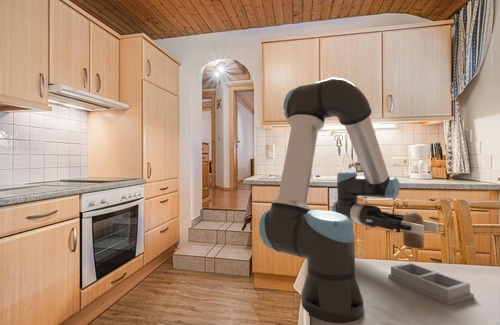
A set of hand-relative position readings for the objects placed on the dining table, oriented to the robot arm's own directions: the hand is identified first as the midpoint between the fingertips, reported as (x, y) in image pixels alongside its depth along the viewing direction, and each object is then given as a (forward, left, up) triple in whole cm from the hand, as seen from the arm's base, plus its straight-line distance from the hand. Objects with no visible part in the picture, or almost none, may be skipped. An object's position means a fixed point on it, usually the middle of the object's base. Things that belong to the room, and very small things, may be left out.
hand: (430, 229), depth 74 cm
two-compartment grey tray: (-1, +1, -17) cm, 17 cm away
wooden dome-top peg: (-3, +5, -6) cm, 8 cm away
